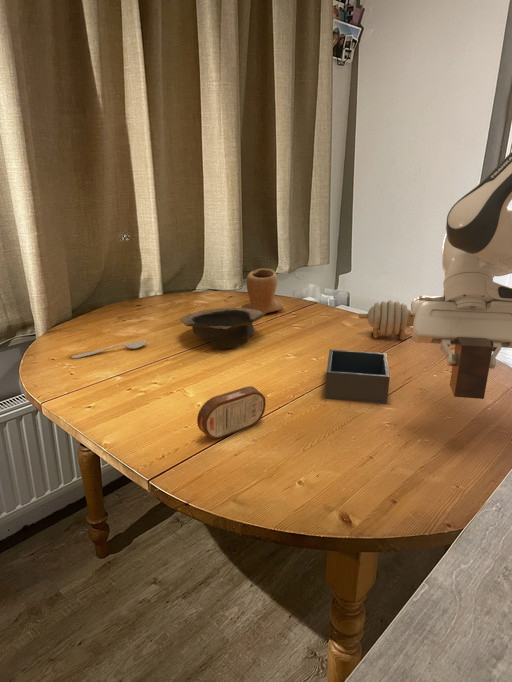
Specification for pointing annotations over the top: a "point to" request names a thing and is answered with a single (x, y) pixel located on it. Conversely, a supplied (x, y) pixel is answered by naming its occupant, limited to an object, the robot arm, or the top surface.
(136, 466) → the top surface
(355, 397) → the gray open box
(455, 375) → the block
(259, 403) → the tin
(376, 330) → the toy sheep
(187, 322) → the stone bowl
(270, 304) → the terracotta vase
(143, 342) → the spoon
